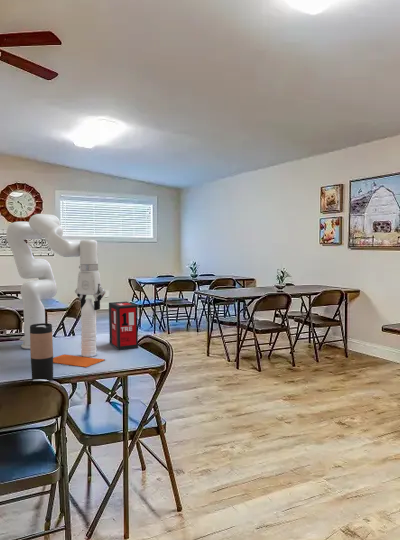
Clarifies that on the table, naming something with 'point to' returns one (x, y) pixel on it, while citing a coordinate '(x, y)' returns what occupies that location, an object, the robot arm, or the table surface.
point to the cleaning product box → (123, 325)
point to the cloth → (76, 360)
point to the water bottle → (88, 329)
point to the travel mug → (41, 351)
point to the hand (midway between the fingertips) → (90, 308)
